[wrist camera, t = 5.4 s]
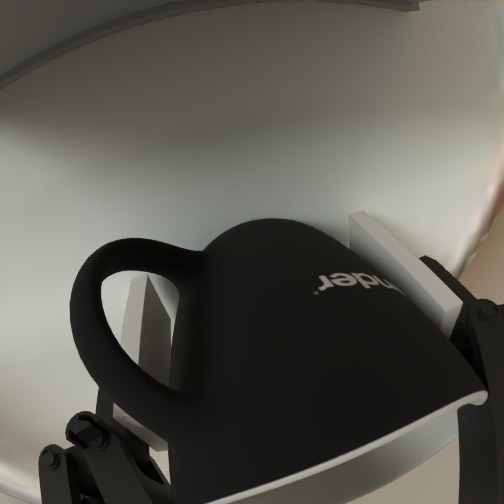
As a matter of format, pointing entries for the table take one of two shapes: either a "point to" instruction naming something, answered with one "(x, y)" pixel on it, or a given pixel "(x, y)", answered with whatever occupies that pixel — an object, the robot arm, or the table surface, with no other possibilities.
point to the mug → (279, 367)
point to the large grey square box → (97, 24)
